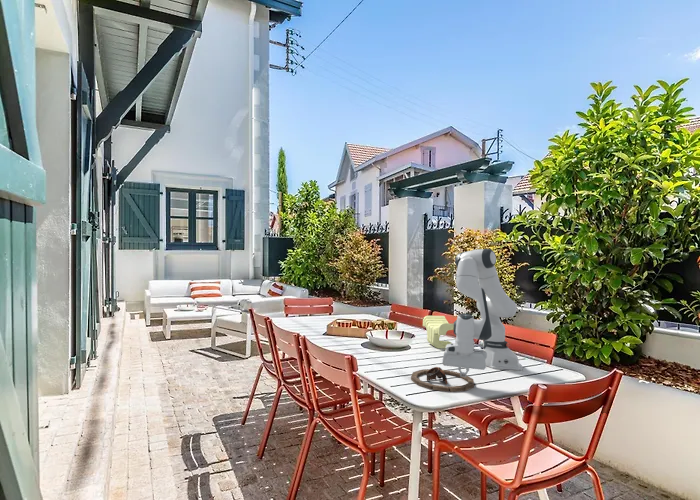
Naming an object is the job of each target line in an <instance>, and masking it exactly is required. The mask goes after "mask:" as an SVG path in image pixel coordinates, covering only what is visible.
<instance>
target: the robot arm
mask: <svg viewBox="0 0 700 500" xmlns="http://www.w3.org/2000/svg"><path fill="white" fill-rule="evenodd" d="M454 263H455V266H456V275H455V279H456V280H455V282H456V283H455V284H456V289H457V290H458V291H459V292H460V294H462V295H464V296H466V297H468V298H470V299H472V300H474V301H476V308H477V310H478V311H479V312H480V319H477V318H476V319H475V318H474V317H475V316H474V315H472V314H470V313H459V314H458V315H457V318H456V320H455V321H454V322H453V324H454V330H453V335H455V336H456V338H455V341H454V342H451V343H452V344H447V345H446V348H445V350H444V353H443V355H442V366H445V367H454V368H457V369H458V373H460V376H461V377H466V376H468V375H467V374H468V373H469V371H470V369H472V370H473V369H474V370H480V371H481V370H483V371H484V370H485V369H487V367H489V368H491V369H494V370H511V371H521V370H523V365H522V364H521V363H520V362H519V357H518V355H517V354H516V353H514V352H513V350H511V349H510V348H509V347H511V344H510V343H509V342H508V341H506V326H505V325H504V324H503V323H502V321H501V319H500V318H506V319H507V318H513V317H514V316H515V315H516V313H517V310H518V309H517V308H518V307H517V304H516V302H515V300H513V299H511V297H509V296H508V295H507V293H506V291H505V289H504V288H503V286H502V283H501V282H500V278H499V275H498V271H497V268H496V263H497V256H496V253H495V251H494V250H493V249H491V248H484V249H483V248H480V249H479V248H478V249H473V250H468V251H462V252H459V253H457V254H456V256H455V259H454ZM475 340H479V341H482V348H483V349H478V348H475ZM462 368H463V369H465V372H463V371H462Z"/></svg>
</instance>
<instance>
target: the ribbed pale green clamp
mask: <svg viewBox="0 0 700 500" xmlns="http://www.w3.org/2000/svg"><path fill="white" fill-rule="evenodd" d="M422 327H425V329H426V336H427V337H426V341H427V342H428V343H429V344H430V345H431V346H433V347H434V348H436V349H446V345H447V344H452V343H453V342H452V341H449V340H440V337H441V336H446V335H447V333H448V331H454V323H449V321H448V320H447V318H446V316H445V315H425V316H424V317H423V319H422Z"/></svg>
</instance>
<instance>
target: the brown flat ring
mask: <svg viewBox="0 0 700 500" xmlns="http://www.w3.org/2000/svg"><path fill="white" fill-rule="evenodd" d="M430 369H431V368H429V369H419V370H416V371H412V374H411V376H410V380H411V382H413V383H414V384H415V385H417V386H420V387H422V388H426V389H429V390H433V391H441V392H446V393H447V392H448V393H449V392H451V393H455V392H467V391H469V390H471V389H474V387H475V385H474V384H475V383H474V381H475V380H474V379H473V378H472V377H470V376H469V375H467V376H466V377H461V376H460V372H459V371H458V372H457V371H454V370H449V369H448V370H447V369H442V371H444V373H445V375H446V376H447V375H449V376H451V377H452V376H453V377H456V378H459V379H460V378H461V379H462V380H463V381H465V382H467V383H466V384H463V385H454V386H447V385H440V384H439V385H437V384H432V383H428V382H426V381H423V380H421V379H420V378H418V377H419V376H422V375H426V373H427V371H428V370H430ZM434 373H435V370H434V371H433V372H431V373H430V374H429V375H431V374H434Z"/></svg>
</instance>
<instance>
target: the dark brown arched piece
mask: <svg viewBox="0 0 700 500" xmlns="http://www.w3.org/2000/svg"><path fill="white" fill-rule="evenodd" d="M429 369H430V370H428V371H427V373H426V374H425V375H426V381H427V382H429V381H434V380H435V381H437V379H440V380H441V379H442V382H445V385H448V378H447V374H445V373H444V371H442V370H443V369H442V368H441V367H438V366H434V367H431V368H429ZM434 370H435V373H432V374H430V373H431V372H433V371H434Z"/></svg>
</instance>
